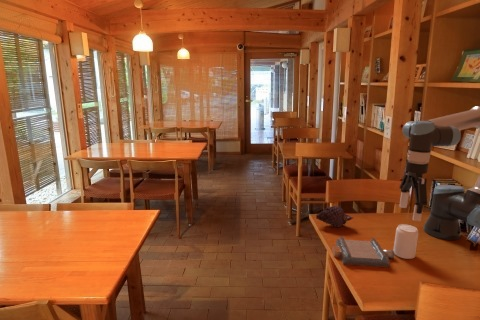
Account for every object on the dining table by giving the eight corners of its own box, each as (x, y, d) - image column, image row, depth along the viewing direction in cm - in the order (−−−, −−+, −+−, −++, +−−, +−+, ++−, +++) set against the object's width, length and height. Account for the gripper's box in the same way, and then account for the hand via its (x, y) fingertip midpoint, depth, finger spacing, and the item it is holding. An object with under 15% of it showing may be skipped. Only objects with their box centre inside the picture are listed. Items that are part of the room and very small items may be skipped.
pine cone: (317, 229, 159) (318, 209, 157) (313, 221, 169) (314, 202, 167) (354, 230, 159) (356, 211, 156) (348, 222, 168) (350, 203, 166)
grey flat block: (386, 248, 142) (387, 238, 141) (399, 267, 128) (400, 257, 127) (330, 245, 144) (330, 235, 143) (336, 263, 130) (337, 253, 129)
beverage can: (417, 261, 133) (421, 233, 130) (395, 258, 134) (399, 231, 132) (411, 251, 141) (415, 224, 138) (390, 249, 142) (394, 222, 139)
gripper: (395, 154, 141) (388, 202, 146) (421, 169, 117) (412, 226, 121) (414, 155, 140) (406, 203, 145) (444, 170, 116) (433, 227, 121)
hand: (409, 213), depth 133 cm, fingers open, 13 cm apart
